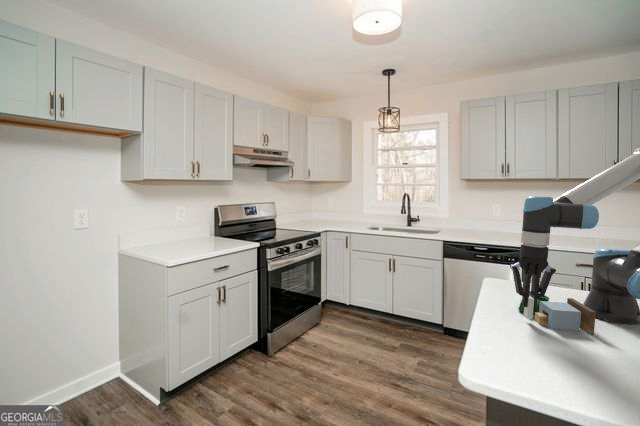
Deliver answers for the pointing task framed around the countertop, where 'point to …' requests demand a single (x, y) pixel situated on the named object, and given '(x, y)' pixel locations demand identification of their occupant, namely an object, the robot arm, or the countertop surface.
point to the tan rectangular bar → (541, 318)
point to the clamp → (537, 304)
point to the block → (561, 315)
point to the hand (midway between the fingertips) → (527, 316)
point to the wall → (584, 316)
